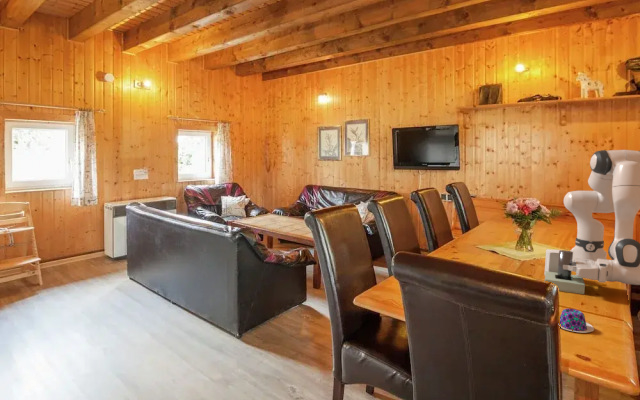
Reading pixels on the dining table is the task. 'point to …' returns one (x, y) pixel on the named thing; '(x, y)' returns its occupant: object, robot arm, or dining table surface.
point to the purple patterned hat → (574, 321)
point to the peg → (566, 259)
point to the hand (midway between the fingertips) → (562, 264)
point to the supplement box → (551, 260)
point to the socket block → (566, 283)
